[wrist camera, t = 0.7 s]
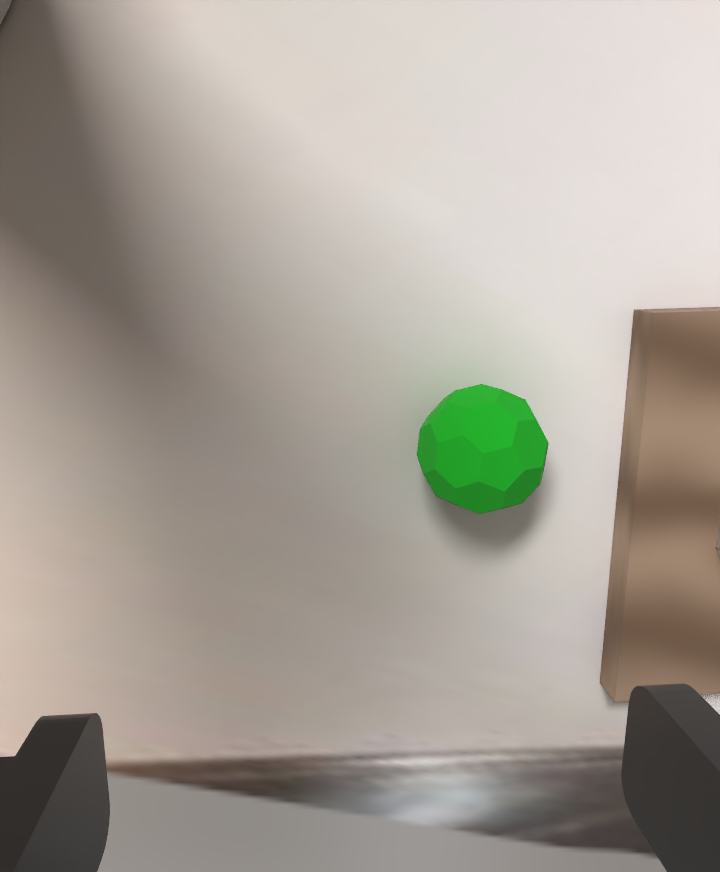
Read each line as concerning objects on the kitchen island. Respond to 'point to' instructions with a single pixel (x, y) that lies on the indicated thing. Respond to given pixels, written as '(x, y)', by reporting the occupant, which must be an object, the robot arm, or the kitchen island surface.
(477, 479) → the polyhedron
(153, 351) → the kitchen island surface
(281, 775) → the kitchen island surface
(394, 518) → the kitchen island surface
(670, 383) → the walnut board
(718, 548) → the steel ring
